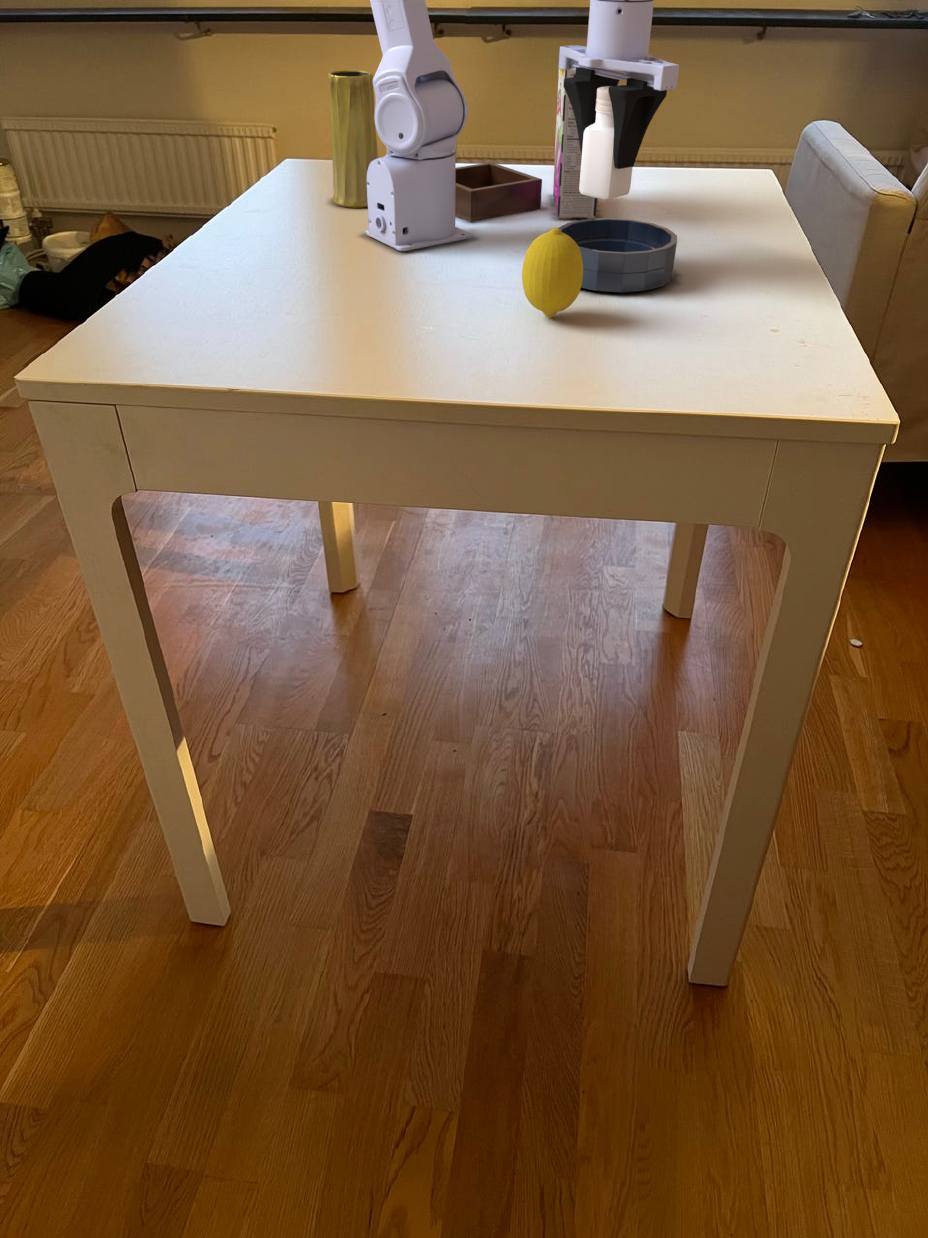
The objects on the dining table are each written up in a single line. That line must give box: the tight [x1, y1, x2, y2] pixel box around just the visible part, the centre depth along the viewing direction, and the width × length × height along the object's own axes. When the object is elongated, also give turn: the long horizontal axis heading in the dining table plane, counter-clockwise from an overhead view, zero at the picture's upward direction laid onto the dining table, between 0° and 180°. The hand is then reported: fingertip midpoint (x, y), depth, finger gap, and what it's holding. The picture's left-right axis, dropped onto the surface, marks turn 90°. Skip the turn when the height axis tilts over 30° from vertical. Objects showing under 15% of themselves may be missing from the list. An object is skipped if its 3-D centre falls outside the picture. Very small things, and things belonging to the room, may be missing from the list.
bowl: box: [557, 217, 678, 293], centre depth 98 cm, size 12×12×4 cm
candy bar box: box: [552, 68, 608, 221], centre depth 115 cm, size 11×5×16 cm, turn 179°
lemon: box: [521, 227, 583, 319], centre depth 87 cm, size 6×6×8 cm
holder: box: [455, 161, 543, 223], centre depth 119 cm, size 11×11×4 cm
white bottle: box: [579, 86, 634, 201], centre depth 94 cm, size 4×4×10 cm
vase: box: [327, 69, 379, 209], centre depth 117 cm, size 6×6×14 cm
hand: (606, 161), depth 95 cm, fingers closed on white bottle, 4 cm apart
